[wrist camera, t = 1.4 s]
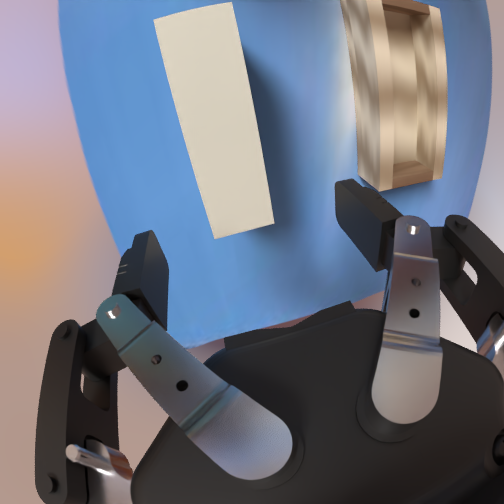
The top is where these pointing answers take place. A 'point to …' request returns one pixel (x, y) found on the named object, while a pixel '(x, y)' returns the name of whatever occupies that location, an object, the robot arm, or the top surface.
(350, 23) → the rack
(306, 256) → the top surface
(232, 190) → the strip
